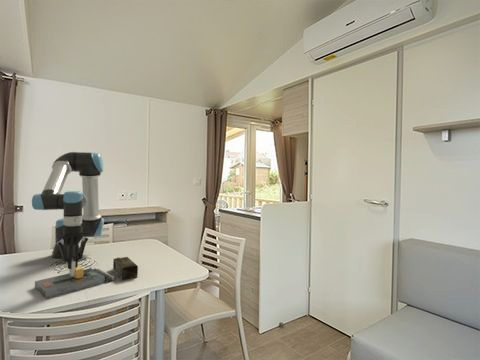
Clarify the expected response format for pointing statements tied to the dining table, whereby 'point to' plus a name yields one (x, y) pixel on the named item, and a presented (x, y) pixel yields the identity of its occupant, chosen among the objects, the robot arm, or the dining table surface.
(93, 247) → the dining table surface
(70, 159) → the robot arm
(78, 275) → the toggle
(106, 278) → the grey rounded bar
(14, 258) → the dining table surface
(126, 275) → the beverage carton
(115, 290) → the dining table surface
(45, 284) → the breaker panel
